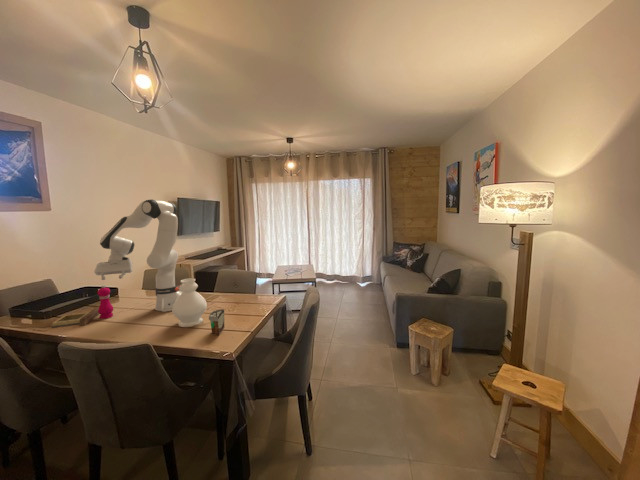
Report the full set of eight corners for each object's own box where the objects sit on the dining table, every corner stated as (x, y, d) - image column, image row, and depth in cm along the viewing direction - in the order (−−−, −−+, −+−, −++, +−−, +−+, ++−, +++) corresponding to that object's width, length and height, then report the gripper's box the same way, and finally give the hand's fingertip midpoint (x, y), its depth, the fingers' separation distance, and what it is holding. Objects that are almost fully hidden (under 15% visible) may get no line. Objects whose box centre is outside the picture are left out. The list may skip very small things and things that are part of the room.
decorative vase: (202, 327, 142) (200, 283, 140) (167, 330, 139) (164, 285, 137) (211, 315, 160) (208, 275, 157) (180, 317, 157) (177, 277, 154)
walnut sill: (101, 312, 167) (100, 306, 166) (85, 325, 148) (84, 318, 147) (96, 313, 166) (96, 307, 165) (80, 325, 147) (79, 319, 147)
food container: (213, 326, 143) (212, 309, 142) (225, 326, 144) (224, 308, 143) (206, 337, 131) (204, 318, 130) (218, 336, 131) (217, 317, 130)
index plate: (91, 315, 162) (91, 311, 162) (80, 323, 150) (80, 319, 150) (65, 318, 158) (64, 315, 157) (51, 327, 145) (51, 323, 145)
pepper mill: (105, 319, 155) (102, 287, 153) (95, 319, 157) (92, 286, 155) (117, 315, 162) (114, 283, 160) (107, 314, 164) (104, 283, 162)
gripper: (95, 260, 172) (90, 277, 164) (132, 257, 179) (128, 274, 170) (99, 265, 176) (94, 282, 168) (135, 263, 183) (131, 279, 175)
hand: (111, 278), depth 169 cm, fingers open, 8 cm apart
